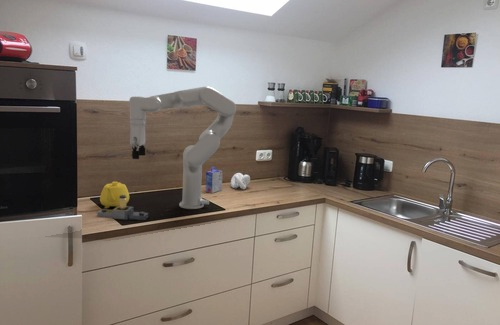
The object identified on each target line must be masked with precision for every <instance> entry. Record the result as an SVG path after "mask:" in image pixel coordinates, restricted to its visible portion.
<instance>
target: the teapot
mask: <svg viewBox="0 0 500 325" xmlns="http://www.w3.org/2000/svg"><path fill="white" fill-rule="evenodd" d="M120 195H126V205H127V204H128V202H129V201H130V193H129V190H128V188H127V186H126V184H124V183H122V182H118V181H112V182H111V183H106V184H105V185H104V187H103V188H102V190H101V193H100V197H99V201H100V204H101V205H102V206H104V207H103V209H110V208H111V207H117V206H120Z"/></svg>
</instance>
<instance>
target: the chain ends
mask: <svg viewBox="0 0 500 325" xmlns="http://www.w3.org/2000/svg"><path fill="white" fill-rule="evenodd" d="M96 213H97V215H96V216H97V217H101V218H102V217H103V218H111V219H114V220H115V219H116V220H124V221H127V220H132V221H133V220H135V221H136V220H137V221H145V220H148V218H149V212H145V211H140V212H139V211H134V206H128V205H126V210H120V206H115V207H114V208H113V209H109V208H102V209H100V210H98V211H97V212H96Z"/></svg>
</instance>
